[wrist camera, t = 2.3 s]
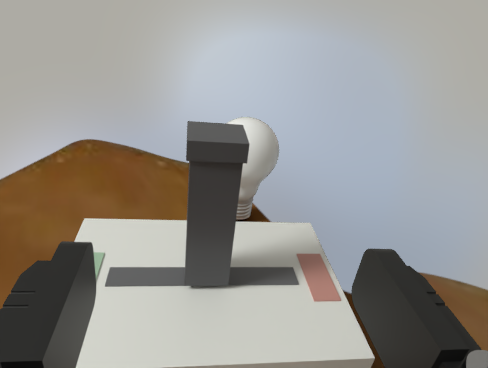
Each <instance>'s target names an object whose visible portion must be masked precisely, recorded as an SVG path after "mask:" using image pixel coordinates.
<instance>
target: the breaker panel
mask: <svg viewBox="0 0 488 368" xmlns="http://www.w3.org/2000/svg"><path fill="white" fill-rule="evenodd" d="M186 228H187V221H183V220H133V219H84V221H83V223H82V225H81V228H80V230H79V232H78V234H77V237H76V239H75V241H74V242H91V243H92V245H93V251H94V263H95V274H96V298H95V304H94V308H93V312H92V315H91V318H90V322H89V325H88V328H87V332H86V335H85V338H84V342H83V345H82V348H81V352H80V355H79V358H78V362H77V365H76V368H371V366H372V364H373V362H374V359H375V357H374V355H373V353H372V351H371V349H370V347H369V345H368V343H367V341H366V338H365V336H364V334H363V332H362V330H361V328H360V326H359V324H358V322H357V320H356V318H355V315H354V313H353V311H352V309H351V307H350V305H349V303H348V301H347V299H346V297H345V295H344V292H343V290H342V288H341V286H340V284H339V282H338V280H337V278H336V276H335V274H334V272H333V269H332V267H331V265H330V263H329V261H328V259H327V257H326V255H325V253H324V251H323V249H322V246H321V245H320V242H319V240H318V239H317V236H316V234H315V232H314V230H313V228H312V226H311V224H310V223H282V222H280V223H279V222H236V224H235V233H234V241H233V249H232V257H231V265H230V274H229V282H228V286H184V285H185V251H186Z"/></svg>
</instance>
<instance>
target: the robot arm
mask: <svg viewBox="0 0 488 368" xmlns="http://www.w3.org/2000/svg"><path fill="white" fill-rule="evenodd" d="M95 298H96V274H95V263H94V251H93V245H92V243H91V242H61V243H60V244H59V246H58V248H57V250H56V252H55V254H54V256H53V258H52V260H51V261H37V262H35V263H34V264H33V265H32V266H30V267H29V268H28V269H27V270H26V271H24V272H23V273H22V274H21V275H20V277H19V278H18V280H17V282H16V284H15V285H14V287H13V289H12V290H11V294H9V296H8V297H7V299H6V301H5V302H4V304H3V308H2V309H0V368H76V365H77V362H78V358H79V355H80V352H81V348H82V345H83V342H84V338H85V335H86V332H87V328H88V325H89V322H90V318H91V315H92V312H93V308H94V304H95ZM352 300H353V304H354V307H355V309H356V311H357V313H358V315H359V317H360V319H361V321H362V323H363V325H364V327H365V329H366V331H367V333H368V335H369V337H370V339H371V341H372V343H373V344H374V346H375V348H376V350H377V352H378V354H379V356H380V358H381V360H382V362H383V364H384V366H385V368H488V351H485V350H481V348H480V347H479V346H478V345H477V343H476V342H475V341H474V339H473V338H472V337H471V336H470V334H469V333H468V332H467V331H466V329H465V328H464V327H463V326H462V324H461V323H460V322H459V320H458V319H457V318H456V317H455V315H454V314H453V313H452V312H451V310H450V309H449V308H448V307H447V306H445V303H444V301H443V300H442V299H441V298H440V296H439V295H436V291H435V290H434V289H433V288H432V286H431V285H430V284H429V283H428V281H427V280H426V279H425V278H424V277H423V276H422V275H420V274H419V273H418V272H416V271H415V270H414V269H412V268H411V267H410V266H406V265H405V263H404V262H403V261H402V259H401V258H400V257H399V255H398V254H397V253H396V252H395V251H394V250H392V249H367V250H366V251H365V252H364V254H363V257H362V260H361V263H360V266H359V269H358V271H357V274H356V277H355V280H354V283H353V286H352Z"/></svg>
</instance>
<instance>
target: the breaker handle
mask: <svg viewBox="0 0 488 368" xmlns="http://www.w3.org/2000/svg"><path fill="white" fill-rule="evenodd" d="M248 152H249V141H248V138H247V135H246V132H245V129H244V126H243V125H239V124H222V123H207V122H190V121H188V126H187V155H186V160H187V161H189V181H188V204H187V228H186V251H185V285H184V286H228V282H229V274H230V265H231V257H232V249H233V241H234V233H235V224H236V216H237V208H238V200H239V192H240V183H241V175H242V167H243V163H247V160H248Z"/></svg>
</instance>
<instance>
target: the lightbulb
mask: <svg viewBox="0 0 488 368" xmlns="http://www.w3.org/2000/svg"><path fill="white" fill-rule="evenodd" d="M226 124H239V125H243V126H244V129H245V132H246V135H247V138H248V141H249V152H248V160H247V163H243V167H242V175H241V183H240V192H239V200H238V208H237V216H236V220H243V219H246V218H248V217H249V216H250V215H251V208H252V201H253V196H254V195H255V194H256V192H257V190H258V187H259V185H260V183H261V182H262V180H264V179H265V178H266V177H267V176H268V175H269V174H270V173H271V171H272V170H273V169H274V167H275V165H276V163H277V160H278V156H279V145H278V140H277V138H276V135H275V133H274V132H273V131H272V129H271V128H270V127H269V126H268V125H267V124H265V123H264V122H262V121H261V120H258V119H255V118H251V117H241V118H237V119H234V120H232V121H230V122H228V123H226Z"/></svg>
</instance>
